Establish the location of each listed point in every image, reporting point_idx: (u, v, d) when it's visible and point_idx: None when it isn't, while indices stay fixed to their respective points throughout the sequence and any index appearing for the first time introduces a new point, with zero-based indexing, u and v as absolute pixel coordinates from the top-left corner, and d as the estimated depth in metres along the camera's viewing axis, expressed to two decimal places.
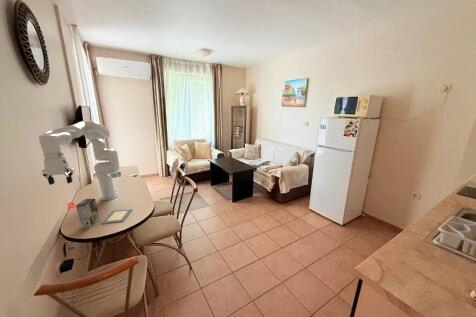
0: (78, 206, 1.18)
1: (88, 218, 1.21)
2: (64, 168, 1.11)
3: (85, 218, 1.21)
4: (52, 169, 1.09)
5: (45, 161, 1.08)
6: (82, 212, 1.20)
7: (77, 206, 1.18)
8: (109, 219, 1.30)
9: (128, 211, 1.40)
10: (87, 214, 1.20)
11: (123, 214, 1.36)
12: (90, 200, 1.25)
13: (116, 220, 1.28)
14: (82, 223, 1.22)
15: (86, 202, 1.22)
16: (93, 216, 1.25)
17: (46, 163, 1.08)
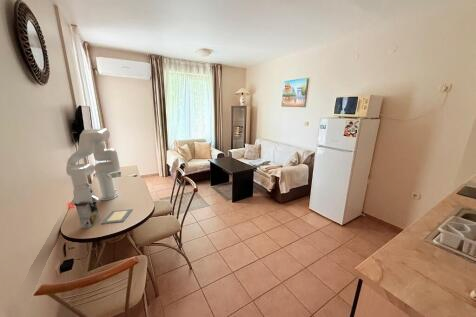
0: (78, 206, 1.18)
1: (88, 218, 1.21)
2: (91, 198, 1.21)
3: (85, 218, 1.21)
4: (81, 198, 1.20)
5: (74, 191, 1.18)
6: (82, 211, 1.20)
7: (77, 206, 1.18)
8: (109, 219, 1.30)
9: (128, 211, 1.40)
10: (87, 214, 1.20)
11: (123, 214, 1.36)
12: None
13: (116, 220, 1.28)
14: (82, 223, 1.22)
15: None
16: (93, 216, 1.25)
17: (75, 193, 1.18)
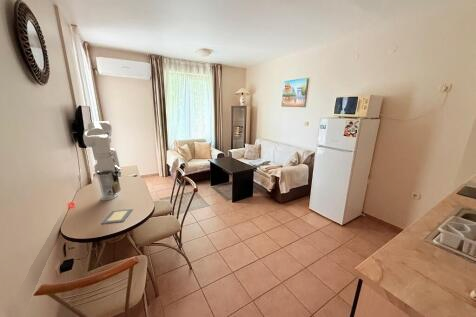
0: (101, 174, 1.21)
1: (110, 187, 1.24)
2: (114, 167, 1.24)
3: (107, 186, 1.24)
4: (104, 167, 1.23)
5: (98, 160, 1.21)
6: (105, 180, 1.23)
7: (100, 174, 1.21)
8: (109, 219, 1.30)
9: (128, 211, 1.40)
10: (110, 182, 1.23)
11: (123, 214, 1.36)
12: None
13: (116, 220, 1.28)
14: (105, 191, 1.25)
15: None
16: (115, 186, 1.28)
17: (99, 162, 1.21)
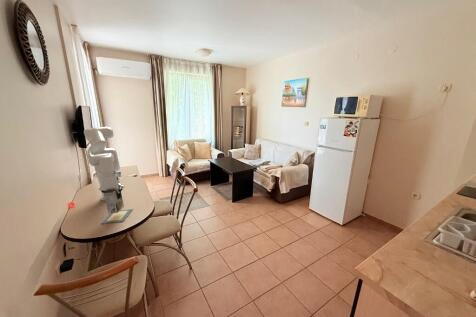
0: (105, 192, 1.25)
1: (114, 204, 1.27)
2: (118, 185, 1.28)
3: (111, 204, 1.27)
4: (108, 185, 1.26)
5: (102, 179, 1.24)
6: (109, 198, 1.26)
7: (104, 192, 1.25)
8: (109, 219, 1.30)
9: (128, 211, 1.40)
10: (114, 200, 1.27)
11: (123, 214, 1.36)
12: None
13: (116, 220, 1.28)
14: (109, 209, 1.28)
15: None
16: (119, 203, 1.31)
17: (103, 180, 1.25)
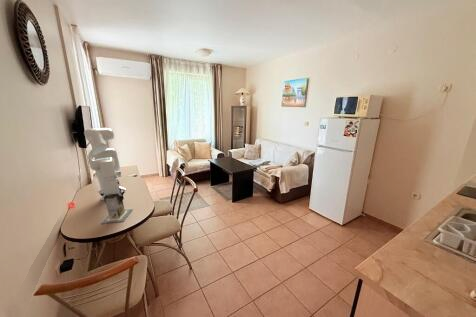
0: (107, 198, 1.26)
1: (115, 210, 1.29)
2: (118, 188, 1.28)
3: (113, 209, 1.28)
4: (109, 189, 1.27)
5: (103, 183, 1.25)
6: (111, 204, 1.27)
7: (106, 198, 1.26)
8: (109, 219, 1.30)
9: (128, 211, 1.40)
10: (115, 206, 1.28)
11: (123, 214, 1.36)
12: None
13: (116, 220, 1.28)
14: (110, 215, 1.29)
15: (113, 195, 1.29)
16: (120, 209, 1.32)
17: (104, 185, 1.25)
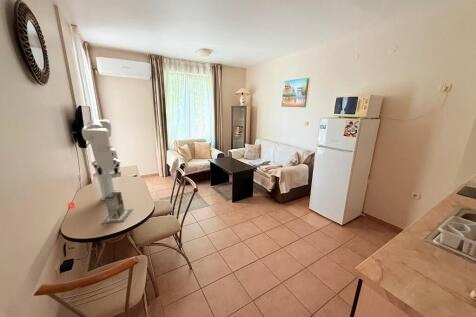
0: (107, 198, 1.26)
1: (115, 210, 1.29)
2: (112, 160, 1.23)
3: (113, 209, 1.28)
4: (103, 160, 1.22)
5: (97, 153, 1.20)
6: (111, 204, 1.27)
7: (106, 198, 1.26)
8: (109, 219, 1.30)
9: (128, 211, 1.40)
10: (115, 206, 1.28)
11: (123, 214, 1.36)
12: (117, 193, 1.32)
13: (116, 220, 1.28)
14: (110, 215, 1.29)
15: (114, 195, 1.29)
16: (120, 209, 1.32)
17: (97, 155, 1.20)
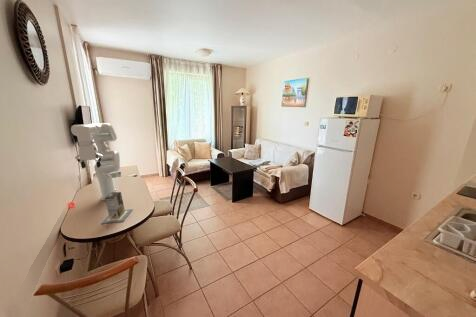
0: (107, 198, 1.26)
1: (115, 210, 1.29)
2: (95, 154, 1.31)
3: (113, 209, 1.28)
4: (85, 155, 1.29)
5: (79, 148, 1.28)
6: (111, 204, 1.27)
7: (106, 198, 1.26)
8: (109, 219, 1.30)
9: (128, 211, 1.40)
10: (115, 206, 1.28)
11: (123, 214, 1.36)
12: (117, 193, 1.32)
13: (116, 220, 1.28)
14: (110, 215, 1.29)
15: (114, 195, 1.29)
16: (120, 209, 1.32)
17: (80, 150, 1.28)
